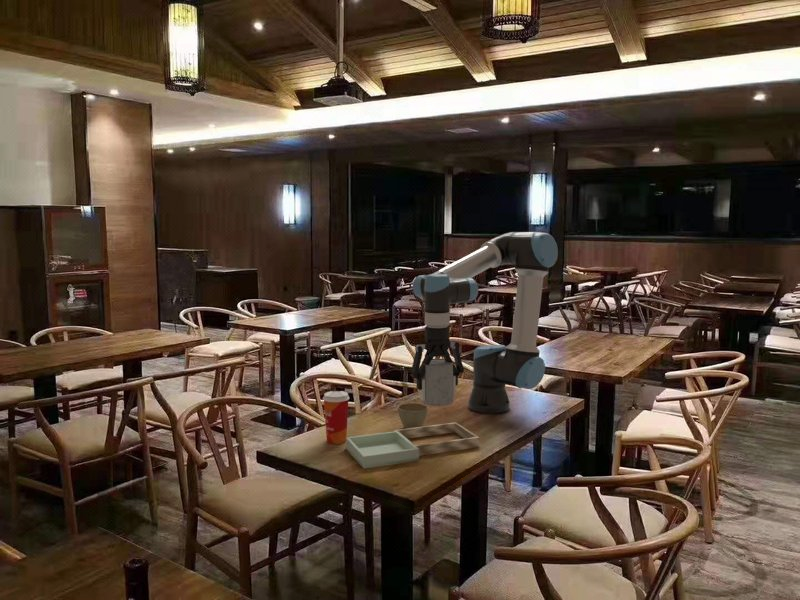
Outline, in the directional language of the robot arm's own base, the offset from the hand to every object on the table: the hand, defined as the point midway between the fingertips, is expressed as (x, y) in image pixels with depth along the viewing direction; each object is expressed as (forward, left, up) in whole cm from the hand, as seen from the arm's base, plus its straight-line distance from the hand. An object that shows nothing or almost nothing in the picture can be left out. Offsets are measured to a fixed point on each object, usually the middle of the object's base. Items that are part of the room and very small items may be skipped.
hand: (437, 397), depth 193 cm
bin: (+19, +3, -14) cm, 24 cm away
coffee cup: (+28, -13, -14) cm, 34 cm away
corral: (0, 0, -14) cm, 14 cm away
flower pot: (+1, -16, -15) cm, 22 cm away
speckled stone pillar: (0, 0, -1) cm, 1 cm away
